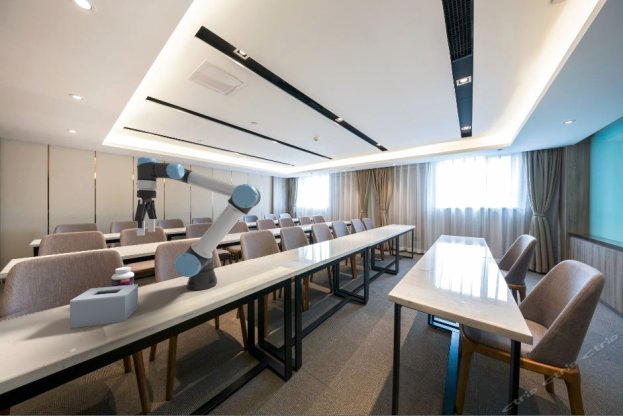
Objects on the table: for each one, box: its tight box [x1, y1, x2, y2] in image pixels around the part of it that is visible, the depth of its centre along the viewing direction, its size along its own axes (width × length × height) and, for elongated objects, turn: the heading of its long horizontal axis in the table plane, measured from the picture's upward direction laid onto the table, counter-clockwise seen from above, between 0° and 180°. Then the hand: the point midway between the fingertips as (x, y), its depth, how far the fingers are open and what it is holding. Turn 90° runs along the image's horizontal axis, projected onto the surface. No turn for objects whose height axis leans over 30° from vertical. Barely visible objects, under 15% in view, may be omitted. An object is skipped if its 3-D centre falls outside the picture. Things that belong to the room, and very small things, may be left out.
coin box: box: [69, 283, 139, 329], centre depth 85 cm, size 16×12×10 cm
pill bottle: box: [110, 266, 135, 287], centre depth 102 cm, size 8×8×14 cm
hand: (146, 233), depth 105 cm, fingers open, 13 cm apart
